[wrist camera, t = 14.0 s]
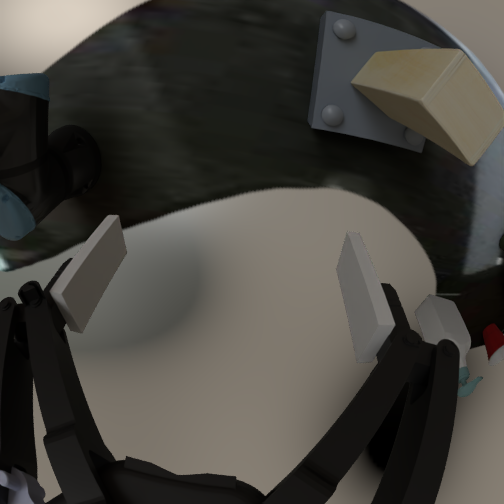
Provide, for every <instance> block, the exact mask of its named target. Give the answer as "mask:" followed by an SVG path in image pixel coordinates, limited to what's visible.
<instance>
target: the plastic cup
mask: <svg viewBox="0 0 504 504" xmlns="http://www.w3.org/2000/svg"><path fill="white" fill-rule="evenodd" d="M483 338H484V342H485V346H486V350H487V354H488V360H489V365H490V366H492V365H495V364H497V363H499V362H500V361H502V360H503V359H504V335H503V334H502V332H501V331H500V330H499V329H498V327H497V326H496V325H495V324H490V325H489V326H487V327H486V328H485V329H484V331H483Z"/></svg>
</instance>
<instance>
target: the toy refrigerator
mask: <svg viewBox="0 0 504 504" xmlns="http://www.w3.org/2000/svg"><path fill="white" fill-rule="evenodd" d="M351 84H352V85H353V86H354V87H355V88H356V89H358V90H359V91H360V92H361V93H362V94H363V95H365V96H366V97H367V98H368V99H369V100H370V101H372V102H373V103H374V104H375V105H376V106H377V107H378V108H379V109H381V110H382V111H383V112H384V113H385V114H386V115H387V116H388V117H390V118H391V119H393V120H395V121H397V122H399V123H401V124H403V125H405V126H406V127H408V128H410V129H412V130H414V131H415V132H417V133H419V134H421V135H423V136H424V137H426V138H428V139H429V140H431V141H433V142H434V143H436V144H438V145H439V146H441V147H442V148H444V149H445V150H447V151H449V152H450V153H452V154H453V155H455V156H456V157H457V158H459V159H460V160H462V161H463V162H465V163H466V164H468V165H469V166H473V165H474V164H475V163H476V162H477V161H478V160H479V159H480V157H481V156H482V155H483V153H484V152H485V151H486V150H487V148H488V147H489V146H490V144H491V143H492V142H493V141H494V139H495V138H496V136H497V135H498V134H499V132H500V131H501V130H502V128H503V127H504V110H503V108H502V107H501V105H500V103H499V102H498V100H497V98H496V97H495V95H494V94H493V92H492V91H491V89H490V88H489V86H488V85H487V83H486V82H485V80H484V79H483V77H482V76H481V74H480V73H479V72H478V70H477V69H476V68H475V66H474V65H473V64H472V62H471V61H470V60H469V58H468V57H467V56H466V55H465V54H464V52H463V51H461V50H460V49H410V50H395V51H382V52H376V53H374V55H373V56H372V57H371V58H370V59H369V60H368V62H367V63H366V64H365V65H364V66H363V68H362V69H361V70H360V71H359V72H358V74H357V75H356V76H355V77H354V79H353V80H352V81H351Z"/></svg>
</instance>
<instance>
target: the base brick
mask: <svg viewBox="0 0 504 504" xmlns="http://www.w3.org/2000/svg"><path fill="white" fill-rule="evenodd" d="M410 49H442V48H440V47H438V46H436V45H433V44H431V43H429V42H427V41H424V40H422V39H419V38H417V37H414V36H412V35H409V34H407V33H404V32H401V31H399V30H396V29H393V28H390V27H387V26H384V25H381V24H378V23H374V22H371V21H367V20H364V19H360V18H356V17H353V16H349V15H344V14H340V13H335V12H331V11H326V12H325V13H324V14H323V15H322V17H321V18H320V27H319V36H318V45H317V53H316V62H315V70H314V77H313V85H312V92H311V100H310V107H309V114H308V122H309V124H310V126H311V128H315V129H321V130H327V131H332V132H338V133H343V134H348V135H353V136H357V137H362V138H366V139H371V140H375V141H379V142H383V143H387V144H391V145H395V146H398V147H402V148H406V149H409V150H413V151H416V152H419V153H422V150H423V146H424V143H425V139H426V137H424V136H423V135H421V134H419V133H417V132H415V131H414V130H412V129H410V128H408V127H406V126H405V125H403V124H401V123H399V122H397V121H395V120H393V119H391V118H390V117H388V116H387V115H386V114H385V113H384V112H383V111H382V110H381V109H379V108H378V107H377V106H376V105H375V104H374V103H373V102H372V101H370V100H369V99H368V98H367V97H366V96H365V95H363V94H362V93H361V92H360V91H359V90H358V89H356V88H355V87H354V86H353V85H352V84H351V81H352V80H353V79H354V77H355V76H356V75H357V74H358V72H359V71H360V70H361V69H362V68H363V66H364V65H365V64H366V63H367V62H368V60H369V59H370V58H371V57H372V56H373V55H374V53H376V52H382V51H395V50H410Z"/></svg>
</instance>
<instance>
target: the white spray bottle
mask: <svg viewBox="0 0 504 504" xmlns="http://www.w3.org/2000/svg"><path fill="white" fill-rule="evenodd" d="M415 315H416V317H417V320H418V323H419V325H420V328H421V331H422V334H423V336H424V339H425V342H428V343H431V344H435V345H437V344H438V342H439V341H440V340H442V339H449V340H451V341H453V342H454V343H455V344H456V345H457V347H458V348H459V352H460V366H459V383H462V387H461V388H459V389H458V394H457V396H460V397H465V396H468V395H470V394H471V393H472V392H473V390H474V389H475V387H476V385H477V383H478V382H479V381H481V380H482V379H483V377H477V378H476V379H474V380H473V381H471V382H470V383H466V380H467V379H468V378H469V375H470V374H469V371H468V368H467V364H466V359H465V357H466V354H467V352H468V351H469V349H470V345H471V338H470V335H469V333H468V330H467V328H466V326H465V324H464V322H463V319H462V317H461V315H460V313H459V311H458V309H457V307H456V305H455V303H454V302H453V301H450V300H447V299H444V298H440V297H437V296H434V295H428V296H427V298H426V299H425V300H424V301H423V302H422V304H421V305H420V306H419V307H418V309H417V310H416V311H415Z"/></svg>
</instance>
